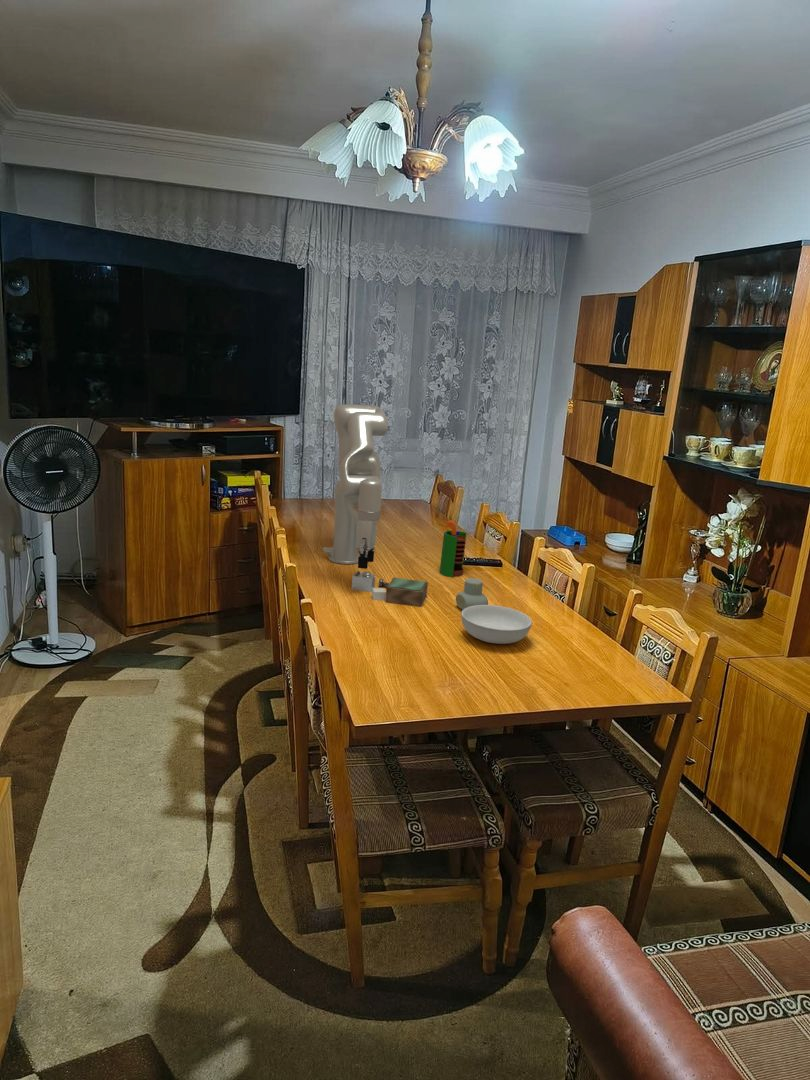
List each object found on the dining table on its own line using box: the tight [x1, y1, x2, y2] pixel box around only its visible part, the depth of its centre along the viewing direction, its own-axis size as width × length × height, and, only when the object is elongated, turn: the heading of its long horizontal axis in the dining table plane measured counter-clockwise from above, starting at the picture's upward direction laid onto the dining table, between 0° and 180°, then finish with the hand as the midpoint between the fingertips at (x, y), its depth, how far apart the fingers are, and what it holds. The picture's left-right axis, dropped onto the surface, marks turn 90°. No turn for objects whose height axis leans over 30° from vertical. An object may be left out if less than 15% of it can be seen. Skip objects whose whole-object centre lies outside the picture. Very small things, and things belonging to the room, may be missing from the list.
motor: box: [439, 520, 468, 578], centre depth 282 cm, size 10×9×20 cm
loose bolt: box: [378, 578, 390, 588], centre depth 262 cm, size 6×3×3 cm, turn 80°
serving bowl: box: [460, 604, 533, 645], centre depth 222 cm, size 21×21×7 cm
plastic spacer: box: [371, 587, 387, 601], centre depth 249 cm, size 4×4×3 cm
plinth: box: [385, 577, 429, 608], centre depth 250 cm, size 12×12×5 cm
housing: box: [351, 570, 376, 593], centre depth 257 cm, size 7×5×6 cm
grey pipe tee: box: [455, 577, 489, 611], centre depth 245 cm, size 11×8×10 cm
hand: (365, 564), depth 255 cm, fingers open, 9 cm apart
